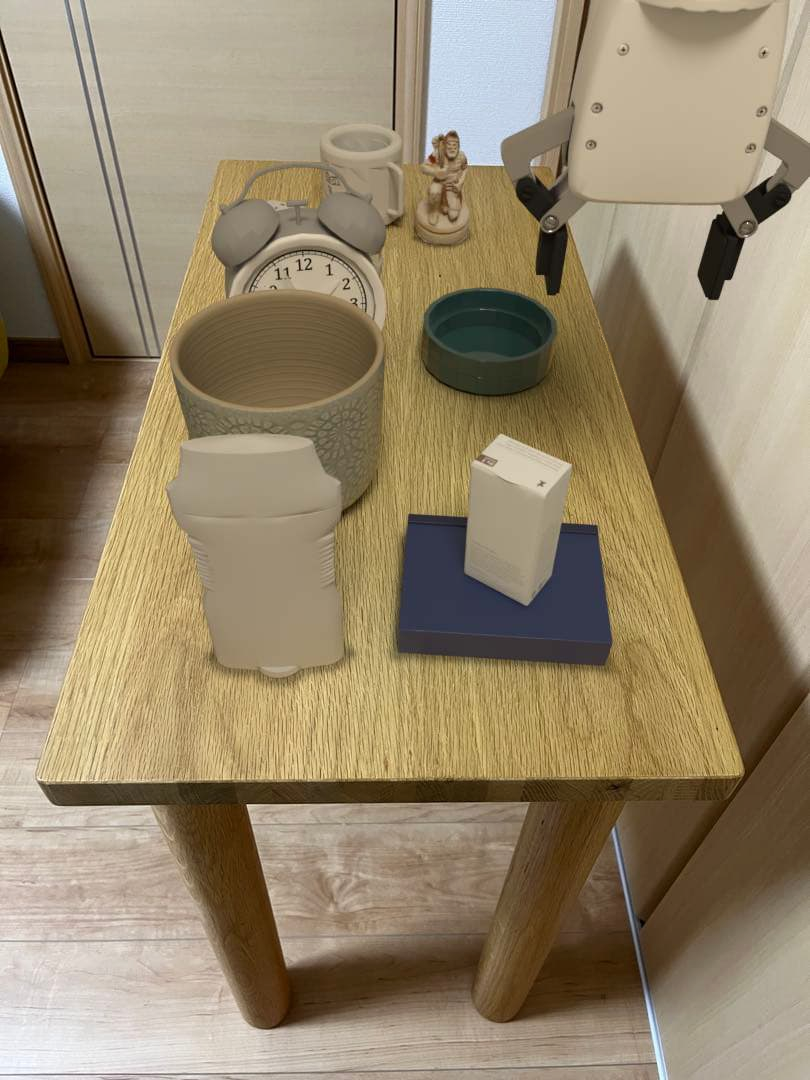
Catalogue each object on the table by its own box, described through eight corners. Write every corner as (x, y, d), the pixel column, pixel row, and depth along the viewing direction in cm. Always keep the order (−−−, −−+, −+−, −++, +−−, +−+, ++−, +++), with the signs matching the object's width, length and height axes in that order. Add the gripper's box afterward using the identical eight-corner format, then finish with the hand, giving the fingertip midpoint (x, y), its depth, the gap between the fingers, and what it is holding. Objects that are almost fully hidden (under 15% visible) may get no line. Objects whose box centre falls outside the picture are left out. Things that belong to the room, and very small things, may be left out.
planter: (174, 461, 78) (139, 320, 67) (332, 407, 84) (325, 270, 73) (244, 580, 68) (217, 438, 57) (418, 509, 74) (424, 368, 63)
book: (590, 549, 71) (597, 524, 69) (604, 666, 63) (613, 641, 61) (407, 538, 72) (408, 513, 70) (397, 652, 64) (398, 628, 61)
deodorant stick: (349, 631, 65) (338, 411, 49) (349, 675, 62) (338, 457, 46) (213, 636, 64) (157, 415, 48) (208, 680, 62) (146, 462, 45)
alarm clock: (235, 403, 84) (201, 191, 68) (230, 354, 90) (197, 149, 74) (392, 385, 87) (395, 177, 71) (377, 339, 93) (376, 137, 76)
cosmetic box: (553, 575, 65) (580, 461, 57) (525, 611, 63) (548, 498, 54) (487, 541, 68) (502, 427, 59) (457, 575, 65) (469, 461, 56)
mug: (307, 210, 114) (302, 135, 106) (366, 188, 119) (365, 115, 111) (371, 247, 107) (371, 169, 100) (431, 222, 112) (434, 146, 105)
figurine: (432, 262, 108) (443, 167, 95) (403, 225, 111) (410, 128, 97) (478, 242, 110) (495, 147, 97) (448, 207, 113) (461, 109, 99)
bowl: (547, 325, 95) (553, 290, 92) (554, 401, 86) (561, 365, 82) (425, 319, 96) (426, 284, 92) (418, 393, 86) (420, 357, 83)
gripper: (863, -61, 41) (754, 260, 53) (514, -67, 41) (487, 253, 54) (921, -21, 36) (786, 324, 48) (522, -28, 36) (490, 315, 49)
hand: (628, 286), depth 51 cm, fingers open, 9 cm apart
